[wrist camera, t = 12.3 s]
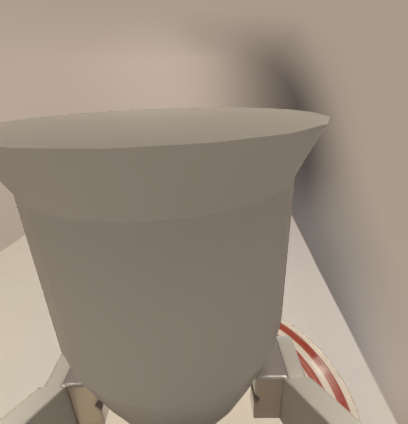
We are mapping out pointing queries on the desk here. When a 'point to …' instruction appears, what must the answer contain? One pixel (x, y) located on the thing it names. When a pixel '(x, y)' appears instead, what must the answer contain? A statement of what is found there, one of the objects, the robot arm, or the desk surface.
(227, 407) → the chalice
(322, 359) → the dinner plate
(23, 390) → the desk surface
